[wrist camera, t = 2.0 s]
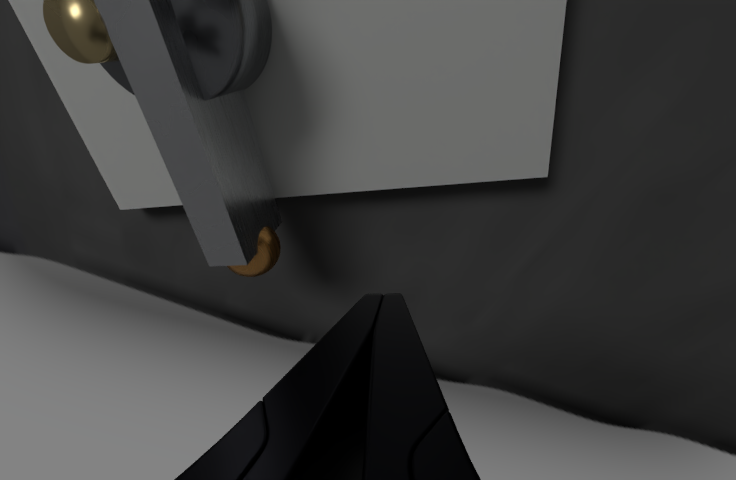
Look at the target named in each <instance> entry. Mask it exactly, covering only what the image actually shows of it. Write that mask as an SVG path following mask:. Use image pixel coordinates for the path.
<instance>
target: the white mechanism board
mask: <svg viewBox="0 0 736 480" xmlns="http://www.w3.org/2000/svg"><path fill="white" fill-rule="evenodd" d="M566 1H567V0H267V2H268V6H269V10H270V15H271V23H272V42H271V49H270V54H269V57H268V61H267V63H266V65H265V68H264V70H263V71H262V73H261V75H260V76H259V77H258V79H257V80H256V81H255V82H254V83H253V84H252V85H251V86H249V87H248V88H247V89H245V90H244V94H245V97H246V101H247V104H248V107H249V111H250V114H251V118H252V121H253V124H254V128H255V131H256V135H257V138H258V141H259V145H260V148H261V152H262V155H263V158H264V162H265V165H266V169H267V172H268V176H269V179H270V182H271V186H272V189H273V193H274V196H275V198H280V197H293V196H306V195H319V194H332V193H345V192H358V191H371V190H384V189H397V188H410V187H423V186H436V185H449V184H462V183H475V182H488V181H501V180H514V179H527V178H540V177H548V169H549V160H550V150H551V141H552V132H553V122H554V113H555V104H556V94H557V85H558V76H559V66H560V57H561V48H562V39H563V29H564V20H565V11H566ZM9 2H10V4H11V6H12V8H13V10H14V11H15V13H16V15H17V17H18V19H19V21H20V23H21V25H22V26H23V28H24V30H25V32H26V34H27V36H28V38H29V40H30V41H31V43H32V45H33V47H34V49H35V51H36V53H37V55H38V56H39V58H40V60H41V62H42V64H43V66H44V68H45V70H46V71H47V73H48V75H49V77H50V79H51V81H52V83H53V85H54V86H55V88H56V90H57V92H58V94H59V96H60V98H61V100H62V101H63V103H64V105H65V107H66V109H67V111H68V113H69V115H70V116H71V118H72V120H73V122H74V124H75V126H76V128H77V130H78V131H79V133H80V135H81V137H82V139H83V141H84V143H85V145H86V146H87V148H88V150H89V152H90V154H91V156H92V158H93V160H94V161H95V163H96V165H97V167H98V169H99V171H100V173H101V175H102V177H103V178H104V180H105V182H106V184H107V186H108V188H109V190H110V192H111V193H112V195H113V197H114V199H115V201H116V203H117V205H118V207H119V208H120V210H125V209H138V208H151V207H164V206H177V205H182V202H181V200H180V198H179V195H178V193H177V191H176V188H175V186H174V184H173V182H172V179H171V177H170V175H169V172H168V170H167V168H166V165H165V163H164V161H163V159H162V156H161V154H160V152H159V149H158V147H157V145H156V143H155V140H154V138H153V136H152V133H151V131H150V129H149V126H148V124H147V122H146V120H145V117H144V115H143V113H142V110H141V108H140V106H139V103H138V101H137V99H136V97H135V95H133V94H132V93H130V92H128V91H127V90H126V89H125V88H123V87H122V86H121V85H120V84H119V83H117V82H116V81H115V80H114V79H113V78H112V77H111V76H110V75H109V74H108V72H107V71H106V70H105V69H104V68H103V67H102V66H101V64H100V63H93V64H84V63H80V62H78V61H75V60H73V59H72V58H70V57H69V56H67V55H66V54H65V53H64V52H63V51H62V50H61V49H60V48H59V47H58V46H57V45H56V43H55V42H54V40H53V39H52V37H51V36H50V34H49V32H48V30H47V27H46V24H45V21H44V17H43V2H44V0H9Z"/></svg>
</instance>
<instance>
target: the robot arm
mask: <svg viewBox="0 0 736 480" xmlns="http://www.w3.org/2000/svg"><path fill="white" fill-rule="evenodd" d="M175 480H480V477H479V475H478V474H477V472H476V470H475V468H474V466H473V464H472V462H471V460H470V458H469V455H468V453H467V451H466V449H465V446H464V444H463V442H462V440H461V438H460V435H459V433H458V431H457V428H456V426H455V423H454V421H453V419H452V416H451V414H450V413H449V409H448V406H447V404H446V402H445V399H444V397H443V394H442V392H441V389H440V387H439V384H438V382H437V379H436V377H435V374H434V372H433V369H432V367H431V365H430V362H429V360H428V357H427V355H426V352H425V350H424V347H423V345H422V342H421V340H420V337H419V335H418V332H417V330H416V328H415V325H414V323H413V320H412V318H411V315H410V313H409V310H408V308H407V305H406V303H405V300H404V298H403V296H402V294H385V295H384V296H383V295H382V294H366V295H364V296H363V297H362V298H361V299H360V300H359V301H358V302H357V303H356V304H355V305H354V306H353V307H352V308H351V309H350V310H349V311H348V312H347V313H346V314H345V315H344V316H343V317H342V318H341V319H340V320H339V321H338V322H337V323H336V324H335V325H334V326H333V327H332V328H331V329H330V330H329V332H328V333H327V334H326V335H325V336H324V337H323V338H322V339H321V340H320V341H319V342H318V343H317V344H316V345H315V346H314V347H313V348H312V349H311V350H310V351H309V352H308V353H307V354H306V355H305V356H304V357H303V358H302V359H301V360H300V361H299V362H298V363H297V364H296V365H295V366H294V367H293V368H292V369H291V370H290V371H289V372H288V373H287V374H286V375H285V376H284V377H283V378H282V379H281V380H280V381H279V382H278V383H277V384H276V385H275V386H274V387H273V388H272V389H271V390H270V391H269V392H268V393H267V394H266V395H265V396H264V397H263V401H259V402H258V403H257V404H256V405H255V406H254V407H253V408H252V409H251V410H250V411H249V412H248V413H247V414H246V415H245V416H244V417H243V418H242V419H241V420H240V421H239V422H238V423H237V424H236V425H235V426H234V427H233V428H232V429H231V430H230V431H228V433H227V434H225V435H224V436H223V437H222V438H221V439H220V440H219V441H218V442H217V443H216V444H215V445H213V446H212V447H211V448H210V449H209V450H208V451H207V452H206V453H204V454H203V455H202V456H201V457H200V458H199V459H198V460H197V461H195V462H194V463H193V464H192V465H191V466H190V467H189V468H187V469H186V470H185V471H184V472H183V473H182V474H180V475H179V476H178V477H177V478H176V479H175Z"/></svg>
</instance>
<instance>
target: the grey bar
mask: <svg viewBox="0 0 736 480" xmlns="http://www.w3.org/2000/svg"><path fill="white" fill-rule="evenodd" d="M43 17H44V21H45V24H46V27H47V30H48V32H49V34H50V36H51V37H52V39H53V40H54V42H55V43H56V45H57V46H58V47H59V48H60V49H61V50H62V51H63V52H64V53H65V54H66V55H67V56H69V57H70V58H72V59H73V60H75V61H78V62H80V63H84V64H93V63H100V64H101V66H102V67H103V68H104V69H105V70H106V71H107V72H108V74H109V75H110V76H111V77H112V78H113V79H114V80H115V81H116V82H117V83H119V84H120V85H121V86H122V87H123V88H125V89H126V90H127V91H128V92H130V93H132V94H133V95H135V97H136V99H137V101H138V103H139V106H140V108H141V110H142V113H143V115H144V117H145V120H146V122H147V124H148V126H149V129H150V131H151V133H152V136H153V138H154V140H155V143H156V145H157V147H158V149H159V152H160V154H161V156H162V159H163V161H164V163H165V165H166V168H167V170H168V172H169V175H170V177H171V179H172V182H173V184H174V186H175V188H176V191H177V193H178V195H179V198H180V200H181V202H182V205H183V207H184V209H185V211H186V214H187V216H188V218H189V221H190V223H191V225H192V227H193V230H194V232H195V234H196V237H197V239H198V241H199V244H200V246H201V248H202V250H203V253H204V255H205V257H206V260H207V262H208V264H209V266H227V267H228V268H229V269H230V270H231V271H233V272H234V273H236V274H238V275H241V276H246V277H255V276H259V275H262V274H264V273H266V272H268V271H269V270H270V269H272V268H273V266H274V265H275V264H276V262H277V261H278V258H279V255H280V248H281V247H280V241H279V238H278V236H277V234H276V233H275V230H276V229H277V228H278V227H279V225H280V224H281V223H282V220H281V216H280V213H279V210H278V206H277V203H276V199H275V196H274V193H273V189H272V186H271V182H270V179H269V176H268V172H267V169H266V165H265V162H264V158H263V155H262V152H261V148H260V145H259V141H258V138H257V135H256V131H255V128H254V124H253V121H252V118H251V114H250V111H249V107H248V104H247V101H246V97H245V94H244V90H245V89H247V88H248V87H249V86H251V85H252V84H253V83H254V82H255V81H256V80H257V79H258V77H259V76H260V75H261V73H262V71H263V70H264V68H265V65H266V63H267V61H268V57H269V54H270V49H271V42H272V23H271V15H270V10H269V6H268V2H267V0H44V2H43Z"/></svg>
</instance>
